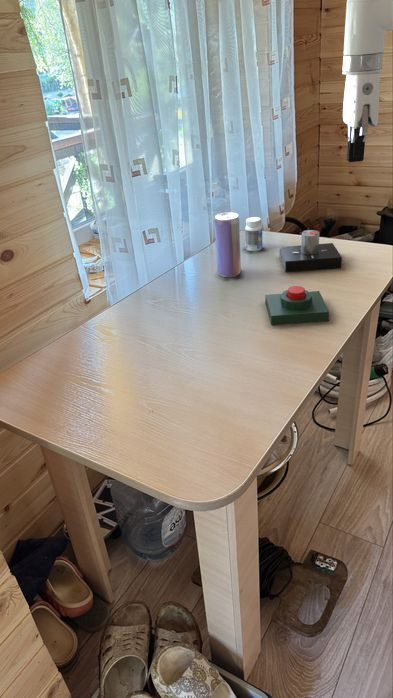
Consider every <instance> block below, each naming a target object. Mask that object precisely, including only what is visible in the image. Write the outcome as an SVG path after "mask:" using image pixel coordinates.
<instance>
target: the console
mask: <svg viewBox="0 0 393 698" xmlns="http://www.w3.org/2000/svg"><path fill="white" fill-rule="evenodd" d="M279 259H280V262H281V266H282V268H283V271H284V272H285V273H296V272H311V271H324V270H325V271H326V270H338V269H342V262H343V256H342V255H341V254H340V251H338V249H337V248H336V246H335V244H334V243H333V242H328V243H319V252H318V253H317V254H314V255H306V254H303V253H301V245H290V246H279Z"/></svg>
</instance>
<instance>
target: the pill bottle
mask: <svg viewBox="0 0 393 698" xmlns="http://www.w3.org/2000/svg"><path fill="white" fill-rule="evenodd" d="M245 223H246V225H245V227H244V233H245V234H244V238H245V239H244V241H245V249H246V251H249V252H258V251H261V250H262V249H263V226H262V219H261V217H258V216H252V217H251V216H250V217H248V218H246V219H245Z"/></svg>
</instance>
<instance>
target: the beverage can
mask: <svg viewBox="0 0 393 698" xmlns="http://www.w3.org/2000/svg"><path fill="white" fill-rule="evenodd" d="M214 218H215V219H214V234H215V251H216V252H215V253H216V268H217V269H216V270H217V274H218V275H219V276H220V277H222V278H229V279H230V278H234V277H237V276H240V273H241V271H242V263H241V262H242V261H241V233H240V231H241V230H240V218H239V214H238V213H236V212H230V211H229V212H227V211H226V212H220V213H217V214H216V215H215V216H214Z"/></svg>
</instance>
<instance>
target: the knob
mask: <svg viewBox="0 0 393 698" xmlns="http://www.w3.org/2000/svg"><path fill="white" fill-rule="evenodd" d="M320 234H321V233H320V231H319V230H316V229H306V230H303V231H302V232H301V241H300V244H301V253H303V254H306V255H314V254H317V253H318V252H319V244H320Z"/></svg>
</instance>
